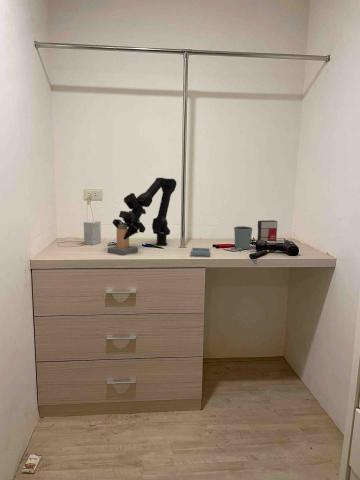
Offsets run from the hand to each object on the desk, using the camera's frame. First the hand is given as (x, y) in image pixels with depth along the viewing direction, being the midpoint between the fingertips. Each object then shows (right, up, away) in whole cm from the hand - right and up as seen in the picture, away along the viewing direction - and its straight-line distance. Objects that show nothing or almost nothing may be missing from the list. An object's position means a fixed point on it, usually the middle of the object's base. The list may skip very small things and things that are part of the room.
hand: (121, 238), depth 193 cm
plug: (+1, -6, +2) cm, 6 cm away
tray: (+41, -8, +5) cm, 42 cm away
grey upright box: (+82, -4, +32) cm, 88 cm away
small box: (-21, -3, +28) cm, 35 cm away
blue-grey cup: (+66, -6, +24) cm, 70 cm away
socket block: (+1, -8, +3) cm, 8 cm away
